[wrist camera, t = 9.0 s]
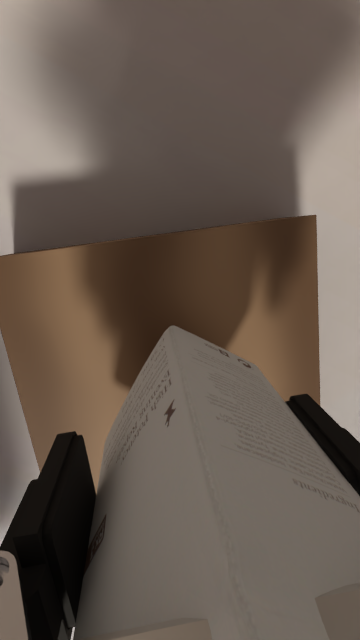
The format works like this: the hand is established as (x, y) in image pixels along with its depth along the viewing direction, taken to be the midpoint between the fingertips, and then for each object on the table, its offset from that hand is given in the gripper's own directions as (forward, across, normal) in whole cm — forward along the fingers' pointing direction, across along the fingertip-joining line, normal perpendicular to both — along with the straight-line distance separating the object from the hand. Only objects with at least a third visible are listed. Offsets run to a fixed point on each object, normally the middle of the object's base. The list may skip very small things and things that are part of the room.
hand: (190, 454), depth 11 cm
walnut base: (+9, 0, 0) cm, 9 cm away
